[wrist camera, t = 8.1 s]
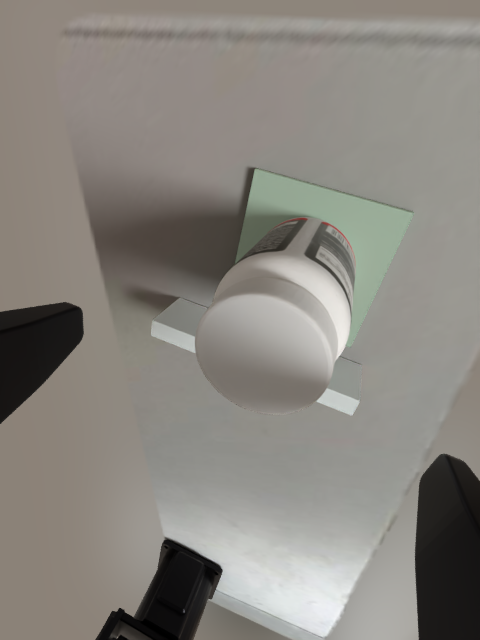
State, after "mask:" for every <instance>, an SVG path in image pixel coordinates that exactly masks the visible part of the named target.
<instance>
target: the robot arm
mask: <svg viewBox="0 0 480 640" xmlns="http://www.w3.org/2000/svg"><path fill="white" fill-rule="evenodd" d="M83 334H84V331H83V313H82V310H81V308H80V307H77V306H75V305H73V304H70V303H67V302H63V303H56V304H49V305H43V306H36V307H30V308H23V309H16V310H9V311H3V312H0V424H1V423H2V422H3V421H4V420H5V419H6V418H7V417H8V416H9V415H10V414H12V412H14V411H15V410H16V409H17V408H18V407H19V406H20V405H21V404H22V403H23V402H24V401H26V400H27V399H28V398H29V397H30V396H31V395H32V394H33V393H34V392H35V391H36V390H37V389H38V388H39V387H40V386H41V385H42V384H43V383H44V382H45V381H46V380H47V379H48V378H49V377H50V375H52V373H53V372H54V371H55V370H56V369H57V368H58V367H59V366H60V364H61V363H62V362H63V361H64V360H65V359H66V358H67V356H68V355H69V354H70V353H71V352H72V351H73V350H74V349H75V347H76V346H77V345H78V344H79V343H80V341H81V340H82V337H83ZM222 572H223V570H222V569H221V568H220V567H218V566H216V565H214V564H212V563H210V562H208V561H207V560H205V559H203V558H201V557H199V556H197V555H195V554H193V553H191V552H189V551H187V550H185V549H183V548H181V547H179V546H178V545H176V544H174V543H172V542H170V541H168V540H164V542H163V543H162V546H161V552H160V558H159V564H158V570H157V572H156V574H155V576H154V578H153V580H152V582H151V584H150V586H149V588H148V590H147V592H146V594H145V596H144V598H143V600H142V602H141V604H140V606H139V608H138V610H137V612H136V614H135V616H134V617H132V616H130V615H129V614H127V613H125V611H124V610H123V609H121V608H119V609H118V611H117V612H115V611H112V612H111V614H110V616H109V617H108V619H107V621H106V623H105V625H104V626H103V628H102V630H101V632H100V633H99V635H98V636H97V638H96V640H193V639H194V637H195V634H196V631H197V628H198V625H199V622H200V619H201V617H202V614H203V612H204V609H205V606H206V603H207V600H208V599H212V597H213V595H214V592H215V590H216V587H217V585H218V582H219V580H220V577H221V575H222ZM415 573H416V591H417V592H416V593H417V613H418V632H419V640H480V481H479V480H478V478H477V477H476V476H475V474H474V473H473V472H472V470H471V469H470V468H469V467H468V465H467V464H466V463H465V462H464V461H462V460H460V459H457V458H455V457H453V456H450V455H448V454H441V455H439V456H438V457H437V458H436V460H435V461H434V462H433V463H432V464H431V465H430V467H429V468H428V469H427V470H426V472H425V473H424V474H423V475H422V477H421V480H420V484H419V497H418V512H417V529H416V545H415ZM117 636H118V638H117ZM116 638H117V639H116Z"/></svg>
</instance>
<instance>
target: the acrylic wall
mask: <svg viewBox="0 0 480 640" xmlns="http://www.w3.org/2000/svg"><path fill="white" fill-rule="evenodd" d="M207 309H208V308H206V307H204V306H201V305H198V304H196V303H193V302H190V301H187V300H185V299H182V298H179V299H177V300H176V301H175V302H174V303H172V304H171V305H170V306H169V307H168V308H166V309H165V310H164V311H163V312H162V313H160V314H159V315H158V316H157V317H155V318H154V319H153V320H152V329H151V336H153V337H156V338H158V339H161V340H163V341H166V342H168V343H171V344H173V345H176V346H179V347H181V348H184V349H186V350H189V351H191V352H194V353H196V351H195V335H196V329H197V326H198V324H199V321H200V319H201V318H202V316H203V314H204V313H205V312H206V310H207ZM361 375H362V365H361V364H358V363H355V362H352V361H350V360H347V359H344V358H342V357H338V358H337V359H336V361H335V364H334V368H333V373H332V377H331V380H330V383H329V385H328V387H327V389H326V390H325V392H324V393H323V394H322V396H321V397H320V398H319V399H318V400H317V401H316V402H319V403H321V404H324V405H326V406H329V407H331V408H334V409H336V410H339V411H341V412H344V413H346V414H349V415H351V416H352V415H353V413H354V411H355V410H356V408H357V406H358V404H359V402H360V394H361Z"/></svg>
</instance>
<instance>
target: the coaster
mask: <svg viewBox="0 0 480 640" xmlns="http://www.w3.org/2000/svg"><path fill="white" fill-rule="evenodd" d="M413 215H414V212H413V211H409V210H405V209H402V208H398V207H395V206H391V205H388V204H384V203H380V202H377V201H373V200H370V199H366V198H362V197H359V196H355V195H352V194H348V193H345V192H341V191H337V190H334V189H330V188H327V187H323V186H320V185H316V184H312V183H309V182H305V181H302V180H298V179H295V178H291V177H287V176H284V175H280V174H277V173H273V172H270V171H266V170H262V169H259V168H256V169H255V171H254V176H253V180H252V185H251V190H250V195H249V199H248V204H247V209H246V213H245V218H244V223H243V227H242V232H241V237H240V241H239V246H238V251H237V255H236V260H235V264H236V263H237V262H238V261H239V260H240V259H241V258H242V257H243V256H244V255H245V254H246V253H247V252H248V251H249V250H250V249H251V248H252V247H253V246H254V245H255V244H257V243H258V242H259V241H260V240H261V239H262V238H263V237H264V236H265V235H266V234H267V233H268V232H269V231H270V230H271V229H272V228H274V227H275V226H277V225H278V224H280V223H282V222H284V221H286V220H289V219H293V218H298V217H312V218H317V219H321V220H323V221H326V222H328V223H330V224H332V225H333V226H335V227H336V228H338V229H339V230H340V231H341V232H342V233H343V234H344V235H345V237H346V238H347V239H348V241H349V243H350V244H351V247H352V249H353V252H354V256H355V262H356V275H355V283H354V293H353V306H352V316H351V321H352V322H351V327H350V332H349V337H348V340H347V343H346V345H345V346H347V347H351V345H352V343H353V341H354V339H355V337H356V335H357V333H358V330H359V328H360V326H361V324H362V322H363V320H364V318H365V316H366V314H367V312H368V309H369V307H370V305H371V303H372V301H373V299H374V297H375V295H376V293H377V291H378V288H379V286H380V284H381V282H382V280H383V278H384V276H385V274H386V272H387V270H388V267H389V265H390V263H391V261H392V259H393V257H394V255H395V253H396V251H397V249H398V246H399V244H400V242H401V240H402V238H403V236H404V234H405V232H406V230H407V228H408V225H409V223H410V221H411V219H412V217H413Z"/></svg>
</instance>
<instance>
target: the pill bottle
mask: <svg viewBox="0 0 480 640" xmlns="http://www.w3.org/2000/svg"><path fill="white" fill-rule="evenodd" d="M355 275H356V262H355V256H354V252H353V249H352V247H351V244H350V243H349V241H348V239H347V238H346V237H345V235H344V234H343V233H342V232H341V231H340V230H339V229H338V228H336V227H335V226H333V225H332V224H330V223H328V222H326V221H323V220H321V219H317V218H312V217H298V218H293V219H289V220H286V221H284V222H282V223H280V224H278V225H277V226H275V227H274V228H272V229H271V230H270V231H269V232H268V233H267V234H266V235H265V236H264V237H263V238H262V239H261V240H260V241H259V242H258V243H257V244H255V245H254V246H253V247H252V248H251V249H250V250H249V251H248V252H247V253H246V254H245V255H244V256H243V257H242V258H241V259H240V260H239V261H238V262H237V263H236V264H235V265H233V266H232V267H231V269H230V270H229V271H228V272H227V273H226V275H225V276H224V277H223V279H222V280H221V282H220V283H219V285H218V287H217V290H216V292H215V295H214V299H213V303H212V304H211V306H210V307H209V308H208V309H207V310H206V312H205V313H204V314H203V316H202V318H201V319H200V321H199V324H198V326H197V329H196V335H195V351H196V356H197V360H198V362H199V365H200V367H201V369H202V371H203V373H204V375H205V377H206V378H207V379H208V381H209V382H210V383H211V384H212V386H213V387H214V388H215V389H216V390H217V391H218V392H219V393H220V394H222V395H223V396H224V397H226V398H227V399H228V400H230V401H231V402H233V403H235V404H236V405H238V406H241V407H243V408H245V409H248V410H251V411H254V412H257V413H262V414H269V415H281V414H288V413H294V412H298V411H300V410H302V409H304V408H307V407H309V406H310V405H312V404H313V403H314V402H316V401H317V400H318V399H319V398H320V397H321V396H322V394H323V393H324V392H325V390H326V389H327V387H328V385H329V383H330V380H331V377H332V373H333V368H334V364H335V361H336V359H337V358H338V357H339V356H340V354H341V353H342V351H343V349H344V348H345V345H346V343H347V340H348V337H349V332H350V327H351V322H352V321H351V316H352V306H353V293H354V283H355Z"/></svg>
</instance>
